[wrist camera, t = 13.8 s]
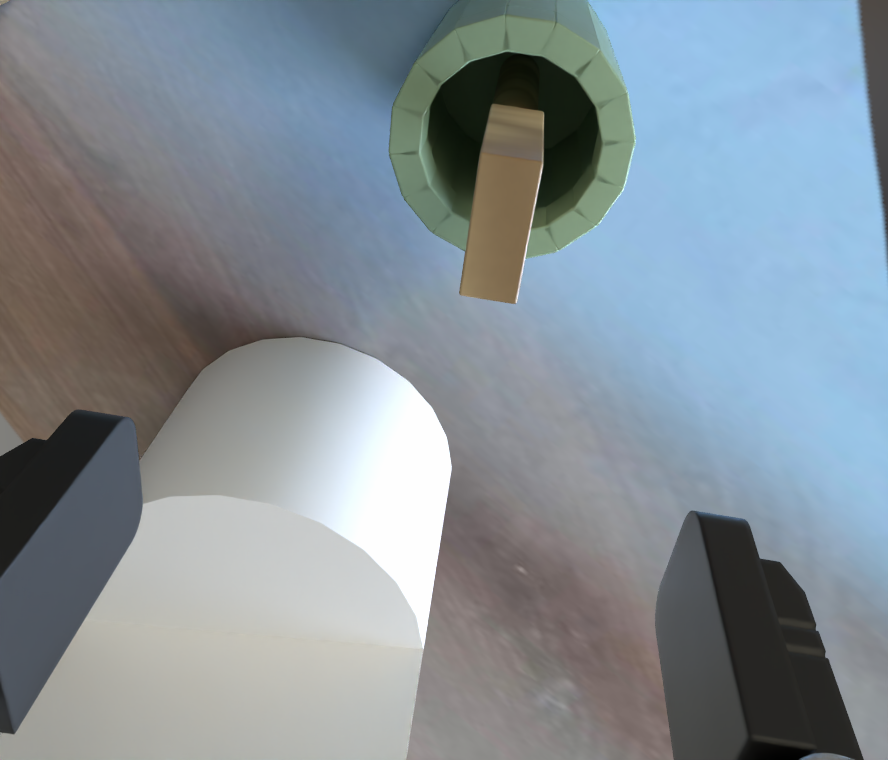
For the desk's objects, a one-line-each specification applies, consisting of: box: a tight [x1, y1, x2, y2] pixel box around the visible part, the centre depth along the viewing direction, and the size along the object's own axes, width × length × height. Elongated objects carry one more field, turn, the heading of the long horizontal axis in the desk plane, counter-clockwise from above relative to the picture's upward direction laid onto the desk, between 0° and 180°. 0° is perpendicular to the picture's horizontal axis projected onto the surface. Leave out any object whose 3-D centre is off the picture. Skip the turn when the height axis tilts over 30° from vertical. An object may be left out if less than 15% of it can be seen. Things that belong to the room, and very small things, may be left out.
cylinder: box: [0, 337, 452, 760], centre depth 40 cm, size 17×17×28 cm
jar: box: [389, 0, 636, 259], centre depth 33 cm, size 8×8×12 cm
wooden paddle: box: [459, 54, 544, 304], centre depth 29 cm, size 2×4×19 cm, turn 173°
